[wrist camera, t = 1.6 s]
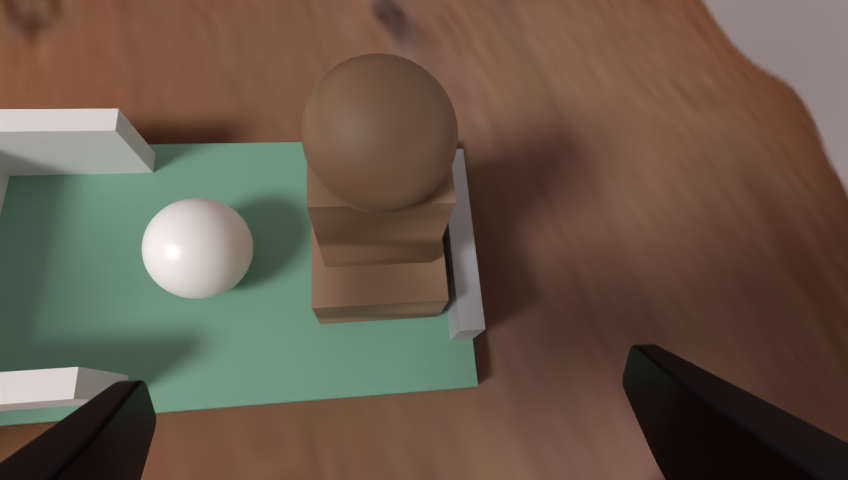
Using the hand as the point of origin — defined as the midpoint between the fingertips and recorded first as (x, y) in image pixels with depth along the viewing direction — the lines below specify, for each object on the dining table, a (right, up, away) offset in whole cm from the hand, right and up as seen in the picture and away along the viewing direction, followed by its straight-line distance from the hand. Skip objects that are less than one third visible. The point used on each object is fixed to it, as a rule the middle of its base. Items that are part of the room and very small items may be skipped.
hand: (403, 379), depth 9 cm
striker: (-2, +2, +13) cm, 13 cm away
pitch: (-8, +1, +13) cm, 15 cm away
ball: (-9, +2, +10) cm, 13 cm away
